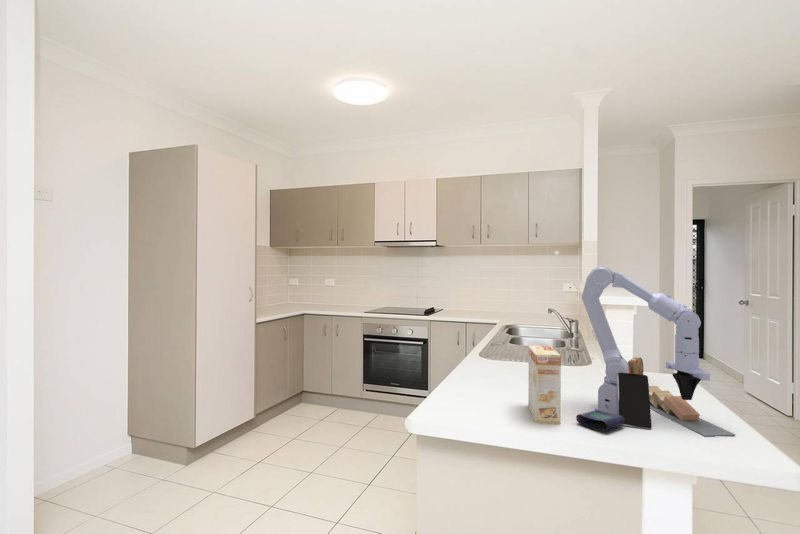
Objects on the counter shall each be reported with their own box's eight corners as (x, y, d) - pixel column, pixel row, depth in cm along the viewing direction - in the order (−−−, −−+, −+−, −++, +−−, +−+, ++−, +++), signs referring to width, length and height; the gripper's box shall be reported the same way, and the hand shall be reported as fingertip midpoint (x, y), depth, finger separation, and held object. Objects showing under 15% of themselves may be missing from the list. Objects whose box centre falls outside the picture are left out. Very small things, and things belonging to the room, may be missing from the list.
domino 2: (686, 408, 127) (668, 390, 135) (669, 408, 127) (653, 391, 134) (684, 413, 128) (666, 395, 135) (668, 414, 128) (651, 396, 135)
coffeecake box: (561, 425, 120) (561, 355, 120) (534, 424, 121) (534, 354, 121) (551, 408, 134) (551, 345, 134) (527, 406, 136) (527, 344, 135)
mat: (735, 436, 112) (735, 434, 112) (704, 437, 112) (704, 435, 112) (650, 396, 146) (650, 395, 146) (626, 397, 145) (626, 396, 145)
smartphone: (618, 424, 119) (616, 372, 126) (618, 425, 120) (616, 373, 127) (652, 428, 116) (648, 375, 123) (651, 430, 117) (647, 376, 124)
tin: (634, 385, 160) (634, 362, 160) (625, 383, 162) (625, 361, 162) (644, 377, 171) (644, 356, 171) (635, 376, 173) (635, 355, 173)
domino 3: (699, 414, 122) (680, 395, 129) (683, 415, 122) (665, 396, 129) (697, 420, 123) (679, 401, 130) (681, 420, 122) (663, 401, 130)
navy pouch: (575, 413, 120) (598, 408, 126) (575, 424, 120) (598, 418, 126) (607, 421, 112) (629, 415, 118) (607, 433, 112) (629, 426, 118)
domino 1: (673, 402, 132) (657, 385, 140) (657, 403, 132) (642, 386, 139) (671, 407, 133) (655, 390, 141) (656, 408, 133) (640, 391, 140)
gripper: (720, 356, 117) (720, 407, 117) (681, 346, 131) (681, 391, 131) (695, 357, 116) (695, 407, 116) (659, 347, 131) (659, 392, 131)
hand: (686, 399), depth 124 cm, fingers closed
